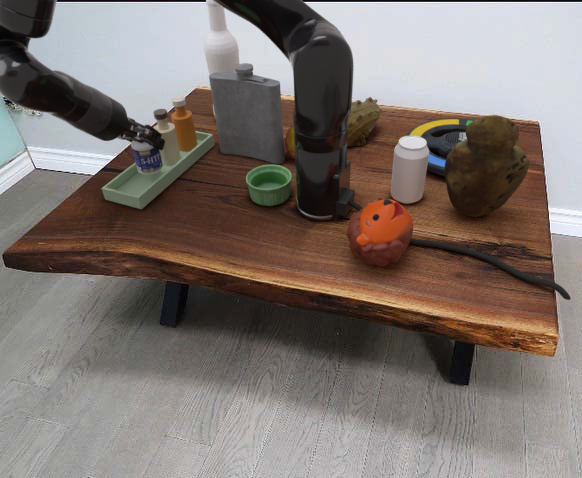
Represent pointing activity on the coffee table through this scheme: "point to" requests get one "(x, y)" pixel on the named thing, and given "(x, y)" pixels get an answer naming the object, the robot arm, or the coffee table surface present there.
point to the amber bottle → (183, 125)
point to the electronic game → (441, 139)
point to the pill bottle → (146, 158)
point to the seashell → (362, 121)
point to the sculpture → (485, 166)
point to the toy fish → (380, 232)
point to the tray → (153, 177)
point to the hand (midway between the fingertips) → (150, 142)
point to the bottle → (220, 43)
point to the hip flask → (248, 114)
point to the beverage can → (409, 169)
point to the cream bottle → (167, 138)
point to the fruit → (290, 142)
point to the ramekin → (269, 184)
